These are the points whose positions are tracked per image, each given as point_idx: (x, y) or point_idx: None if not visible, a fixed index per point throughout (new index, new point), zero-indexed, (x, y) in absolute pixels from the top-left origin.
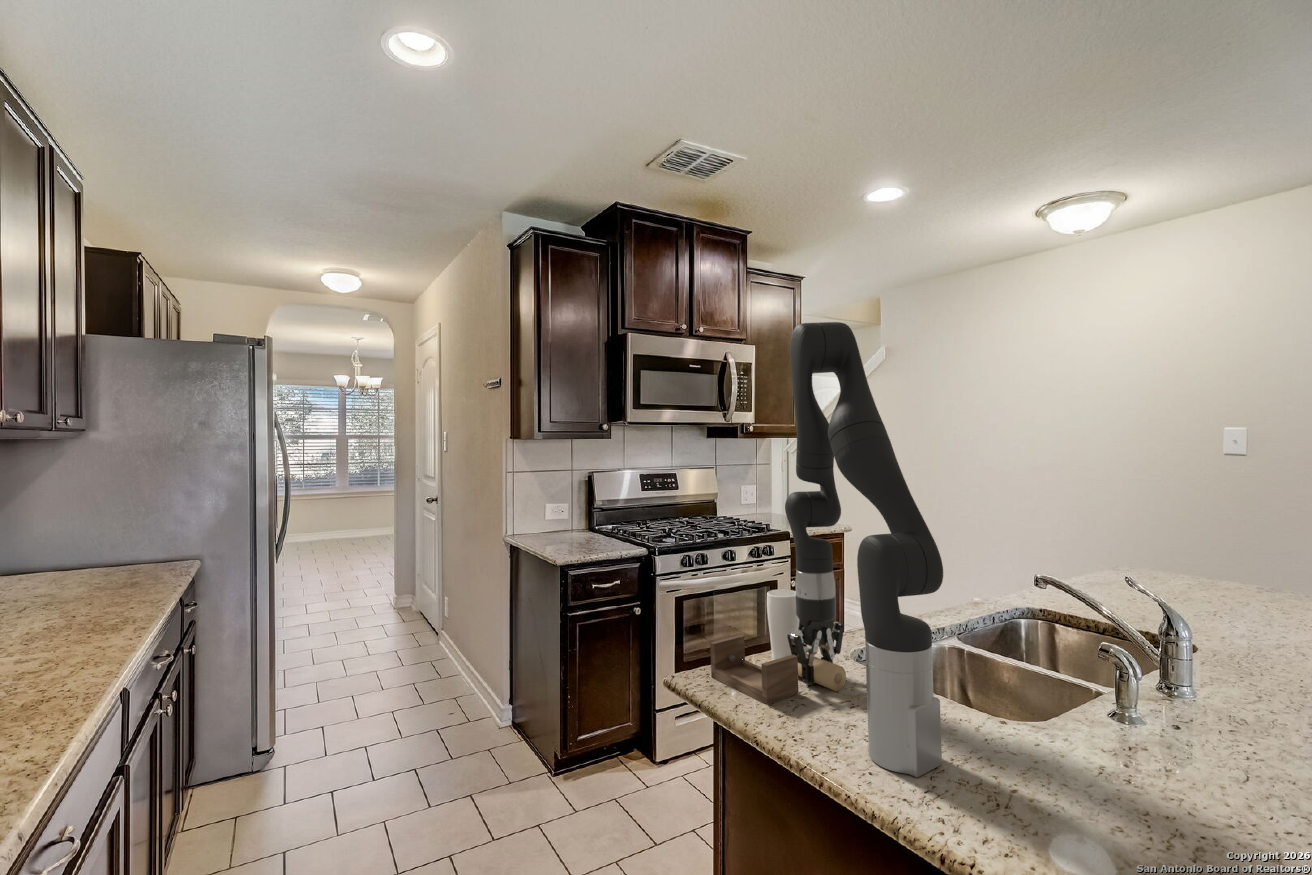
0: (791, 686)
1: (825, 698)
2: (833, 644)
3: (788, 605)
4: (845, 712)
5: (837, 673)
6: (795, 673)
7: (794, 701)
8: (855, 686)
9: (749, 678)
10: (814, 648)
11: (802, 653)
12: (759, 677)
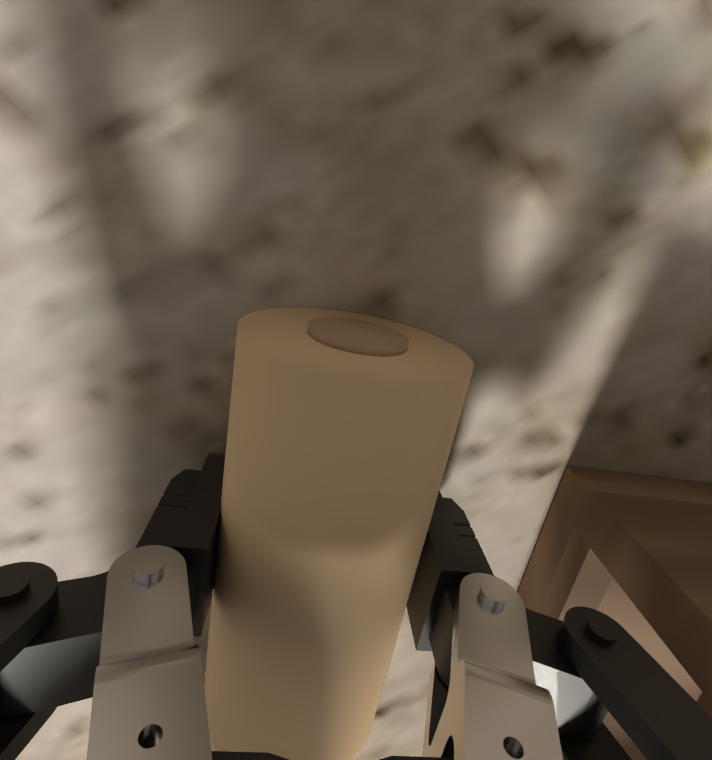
0: (662, 510)
1: (539, 303)
2: (99, 696)
3: None
4: (704, 37)
5: (373, 350)
6: (687, 568)
7: (689, 419)
8: (178, 252)
9: None
10: (543, 743)
11: (692, 733)
12: None
